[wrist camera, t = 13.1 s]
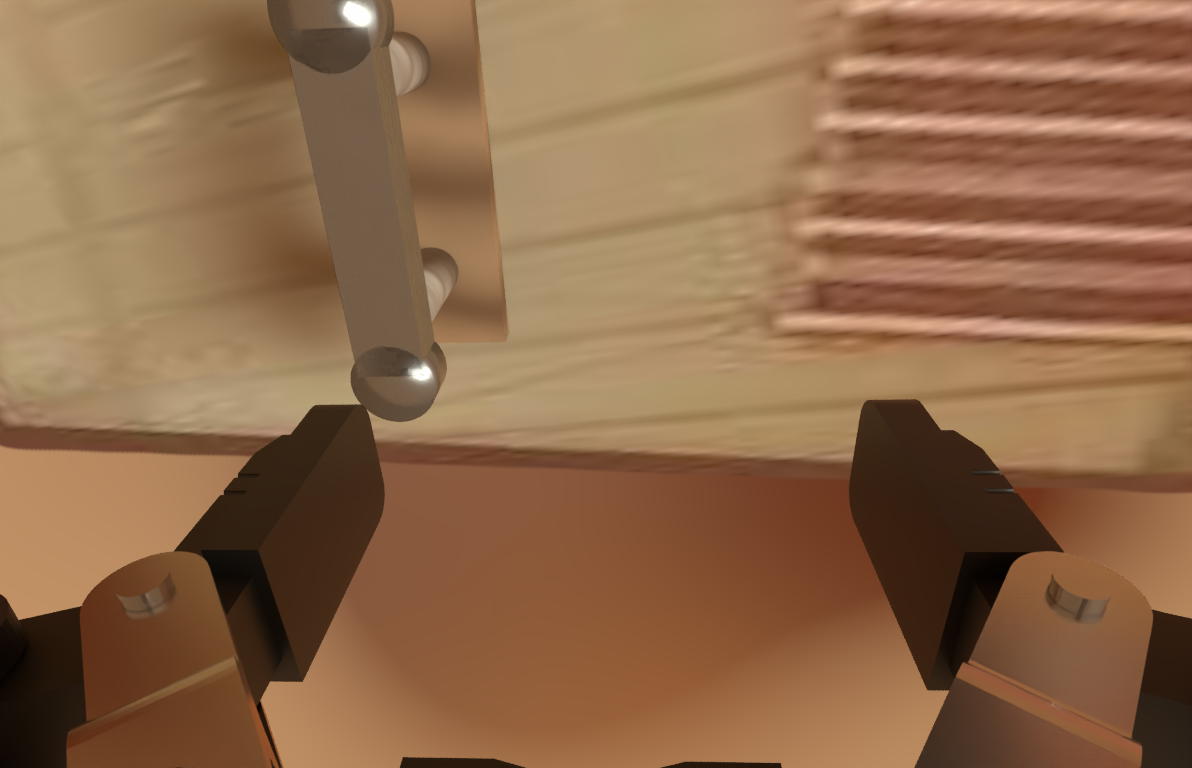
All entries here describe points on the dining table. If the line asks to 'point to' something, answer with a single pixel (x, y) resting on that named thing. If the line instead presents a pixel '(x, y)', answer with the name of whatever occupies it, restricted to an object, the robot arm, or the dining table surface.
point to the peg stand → (450, 166)
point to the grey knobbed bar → (365, 196)
